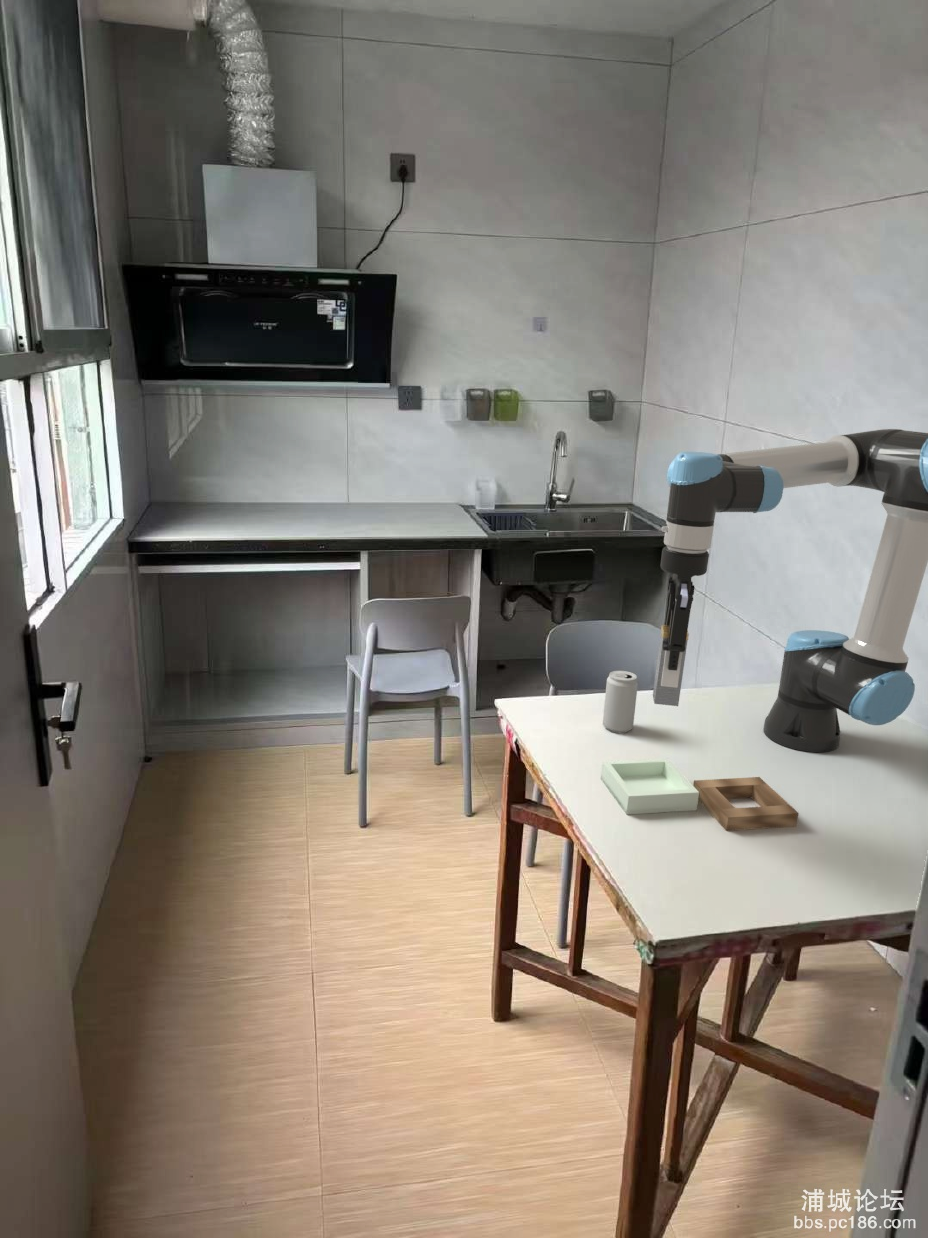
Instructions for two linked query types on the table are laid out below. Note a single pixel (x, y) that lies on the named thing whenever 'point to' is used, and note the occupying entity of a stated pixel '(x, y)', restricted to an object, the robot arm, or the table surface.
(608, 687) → the beverage can
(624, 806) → the bin
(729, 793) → the socket block
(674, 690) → the strut
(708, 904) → the table surface
